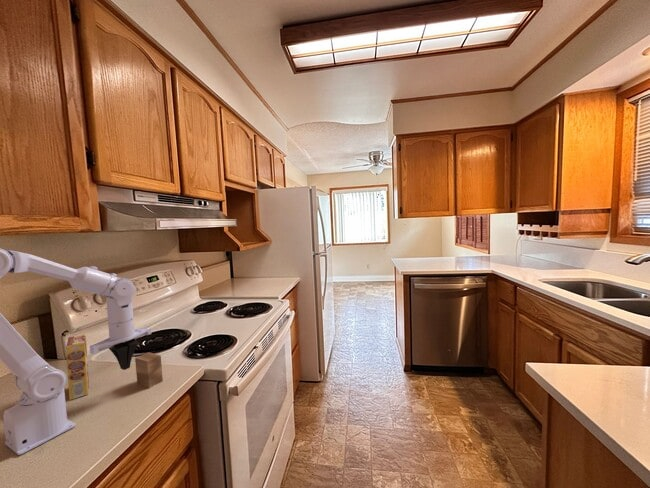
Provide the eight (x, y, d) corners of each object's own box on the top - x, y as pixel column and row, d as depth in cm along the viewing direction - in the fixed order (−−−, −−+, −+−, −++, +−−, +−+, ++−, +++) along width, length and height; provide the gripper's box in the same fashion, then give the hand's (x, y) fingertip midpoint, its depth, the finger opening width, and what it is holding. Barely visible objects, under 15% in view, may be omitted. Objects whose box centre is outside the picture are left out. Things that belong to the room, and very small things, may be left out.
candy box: (89, 394, 79) (84, 341, 78) (69, 400, 76) (63, 346, 75) (90, 381, 86) (86, 333, 85) (71, 387, 83) (66, 337, 82)
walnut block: (149, 388, 81) (147, 361, 80) (137, 383, 83) (135, 357, 83) (162, 381, 84) (160, 355, 84) (150, 377, 87) (148, 352, 87)
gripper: (139, 311, 85) (143, 354, 86) (81, 327, 72) (86, 378, 73) (154, 313, 82) (157, 358, 83) (95, 331, 69) (100, 384, 70)
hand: (125, 368), depth 78 cm, fingers closed
